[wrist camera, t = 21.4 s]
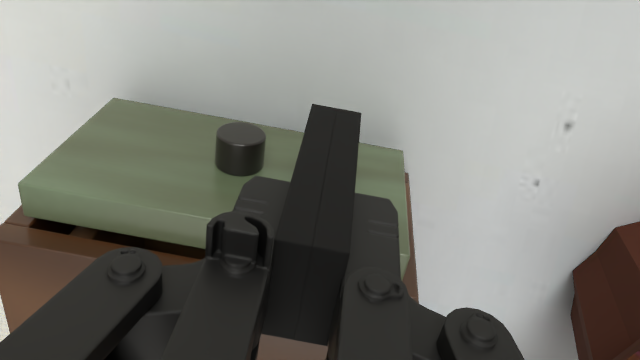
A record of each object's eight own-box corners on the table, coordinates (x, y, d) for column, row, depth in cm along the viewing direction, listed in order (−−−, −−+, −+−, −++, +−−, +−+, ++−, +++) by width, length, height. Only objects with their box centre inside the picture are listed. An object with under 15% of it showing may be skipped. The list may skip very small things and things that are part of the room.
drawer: (111, 67, 20) (9, 146, 14) (411, 122, 19) (421, 222, 14) (129, 332, 27) (68, 448, 22) (343, 372, 27) (333, 497, 22)
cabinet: (110, 117, 22) (-15, 238, 15) (408, 172, 22) (420, 319, 15) (127, 349, 30) (50, 498, 23) (346, 389, 29) (335, 551, 23)
